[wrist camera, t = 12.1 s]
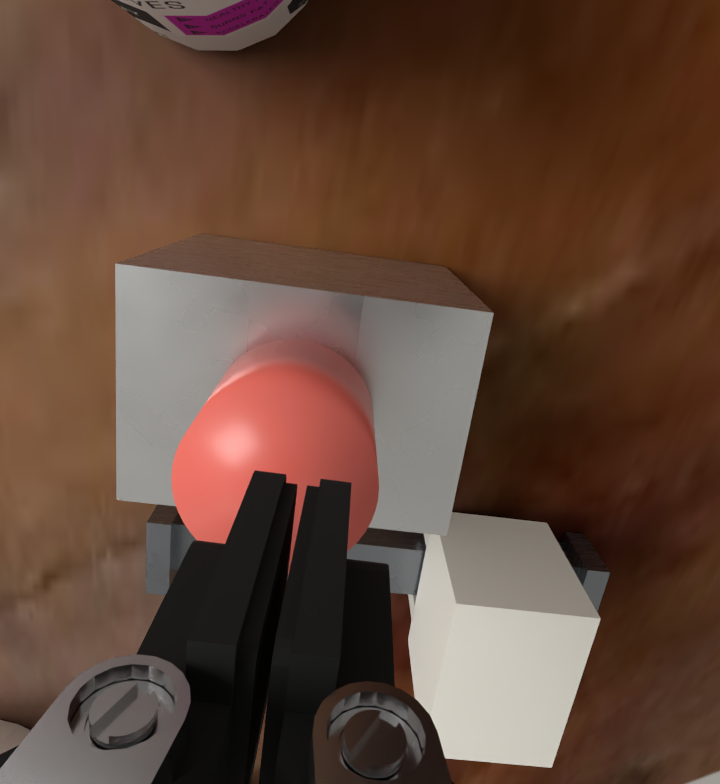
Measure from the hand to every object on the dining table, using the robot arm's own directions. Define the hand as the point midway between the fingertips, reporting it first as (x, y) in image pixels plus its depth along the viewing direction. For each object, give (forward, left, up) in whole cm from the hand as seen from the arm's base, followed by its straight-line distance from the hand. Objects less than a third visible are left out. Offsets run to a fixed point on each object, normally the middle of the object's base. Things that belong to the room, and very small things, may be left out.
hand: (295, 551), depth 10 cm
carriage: (-8, +10, -16) cm, 20 cm away
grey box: (+1, 0, -16) cm, 16 cm away
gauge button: (+1, 0, -11) cm, 10 cm away
